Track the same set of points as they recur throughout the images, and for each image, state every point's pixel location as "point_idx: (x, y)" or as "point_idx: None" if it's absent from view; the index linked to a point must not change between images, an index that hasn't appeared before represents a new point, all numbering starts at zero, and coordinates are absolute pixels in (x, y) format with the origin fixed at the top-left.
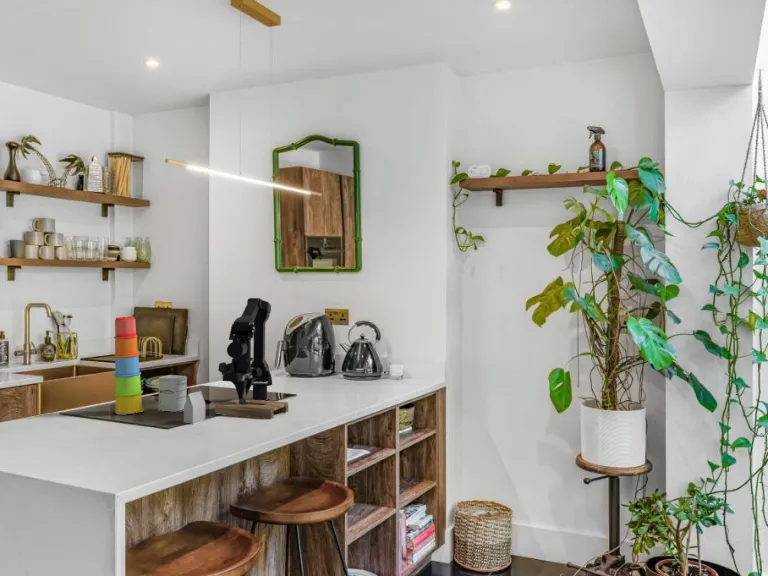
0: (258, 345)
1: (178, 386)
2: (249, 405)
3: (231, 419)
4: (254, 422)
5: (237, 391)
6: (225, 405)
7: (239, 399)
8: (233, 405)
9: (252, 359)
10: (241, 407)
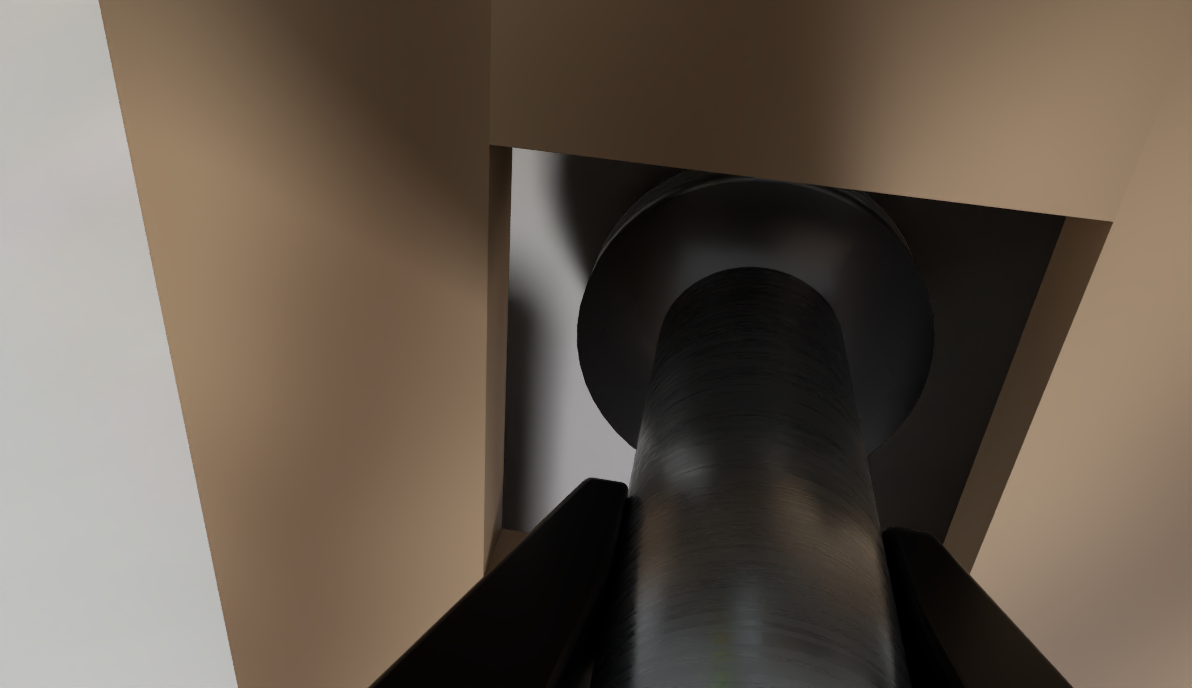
0: None
1: None
2: None
3: (43, 329)
4: (74, 677)
5: (412, 673)
6: (158, 91)
7: (645, 446)
8: (281, 325)
9: None
10: (222, 546)
